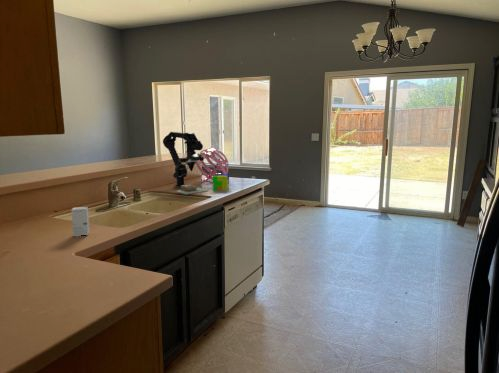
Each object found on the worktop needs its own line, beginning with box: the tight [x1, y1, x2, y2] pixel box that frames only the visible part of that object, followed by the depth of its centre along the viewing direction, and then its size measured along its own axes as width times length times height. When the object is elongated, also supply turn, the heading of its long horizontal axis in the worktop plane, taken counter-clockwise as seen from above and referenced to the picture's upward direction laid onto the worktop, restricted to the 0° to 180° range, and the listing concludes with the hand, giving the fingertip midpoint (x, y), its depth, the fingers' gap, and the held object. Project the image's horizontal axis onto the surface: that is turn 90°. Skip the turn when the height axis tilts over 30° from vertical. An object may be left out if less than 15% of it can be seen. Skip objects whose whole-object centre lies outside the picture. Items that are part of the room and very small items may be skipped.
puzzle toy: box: [212, 173, 230, 191], centre depth 259 cm, size 10×10×10 cm
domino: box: [180, 184, 198, 192], centre depth 254 cm, size 3×7×10 cm
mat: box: [175, 187, 209, 196], centre depth 252 cm, size 14×18×1 cm
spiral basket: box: [195, 148, 230, 184], centre depth 288 cm, size 28×28×27 cm
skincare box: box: [71, 206, 91, 237], centre depth 157 cm, size 6×4×12 cm
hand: (191, 171), depth 266 cm, fingers closed
